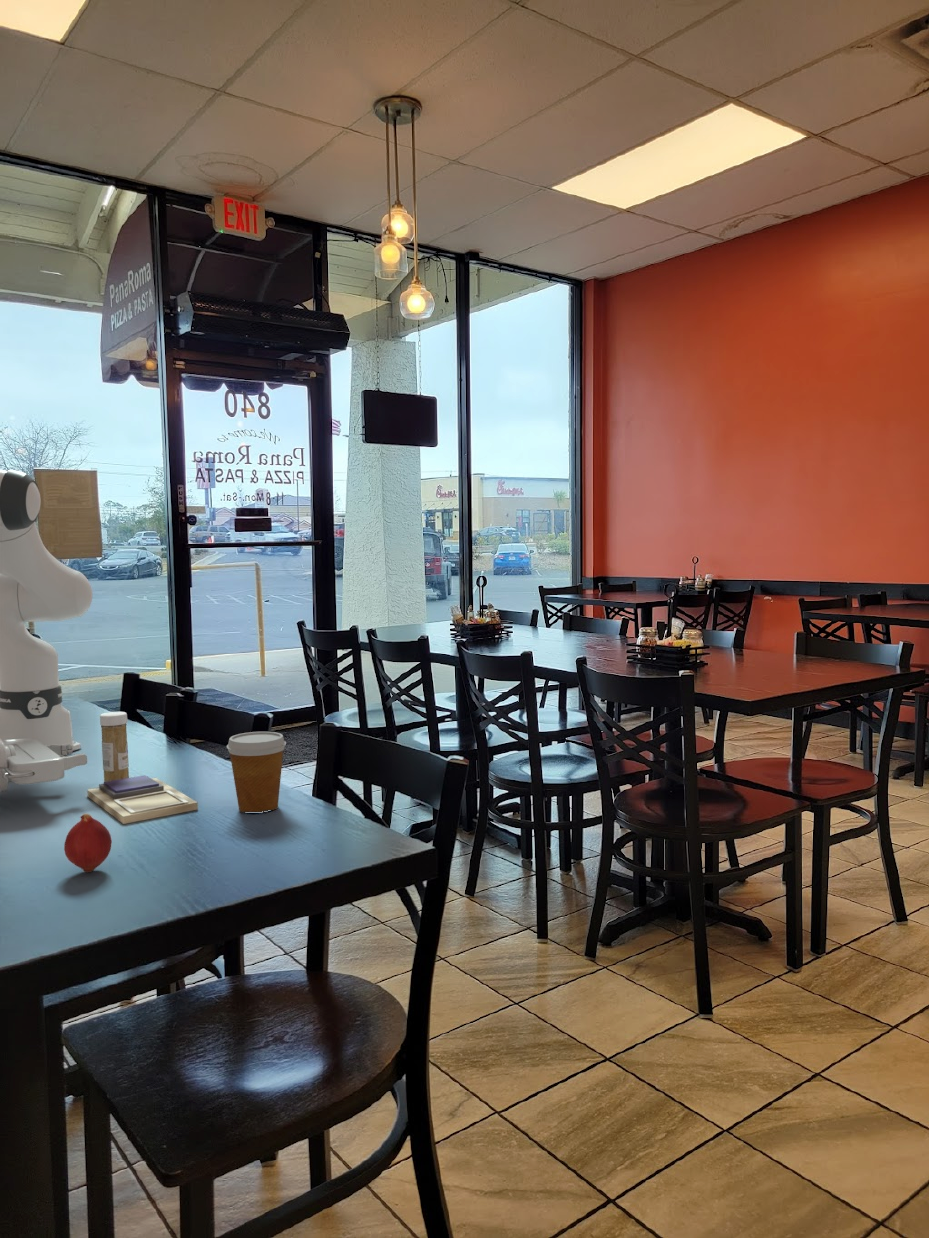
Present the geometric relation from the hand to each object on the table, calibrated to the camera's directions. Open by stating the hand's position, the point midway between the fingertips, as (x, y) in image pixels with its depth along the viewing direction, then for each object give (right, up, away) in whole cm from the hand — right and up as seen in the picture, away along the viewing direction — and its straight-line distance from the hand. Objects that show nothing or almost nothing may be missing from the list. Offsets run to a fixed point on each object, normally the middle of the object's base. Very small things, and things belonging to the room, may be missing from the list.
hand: (78, 753), depth 158 cm
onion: (+18, -10, -38) cm, 44 cm away
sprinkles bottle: (+5, -7, +4) cm, 9 cm away
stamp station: (+13, -7, -7) cm, 17 cm away
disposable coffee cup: (+34, -8, -11) cm, 37 cm away
